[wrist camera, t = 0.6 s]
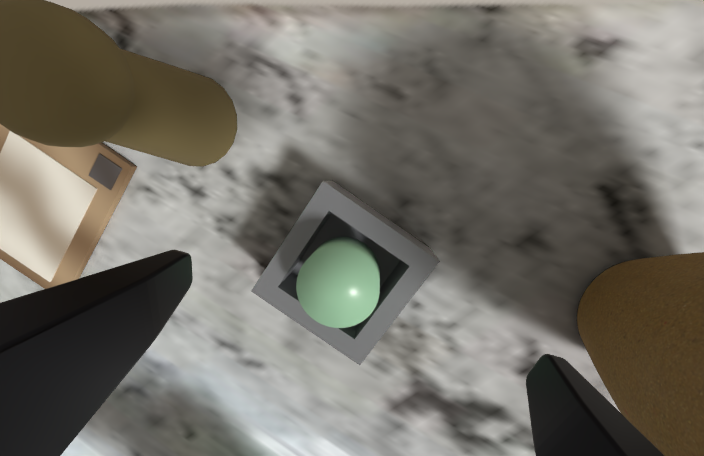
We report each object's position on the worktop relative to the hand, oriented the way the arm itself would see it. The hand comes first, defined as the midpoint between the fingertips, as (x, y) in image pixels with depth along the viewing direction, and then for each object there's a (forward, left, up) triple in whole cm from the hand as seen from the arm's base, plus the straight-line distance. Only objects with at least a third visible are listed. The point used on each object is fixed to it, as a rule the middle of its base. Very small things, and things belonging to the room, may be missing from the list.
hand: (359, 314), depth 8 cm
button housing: (-3, 0, -14) cm, 14 cm away
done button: (-3, 0, -11) cm, 12 cm away
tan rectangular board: (-12, +21, -14) cm, 28 cm away
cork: (-1, +14, -14) cm, 20 cm away
